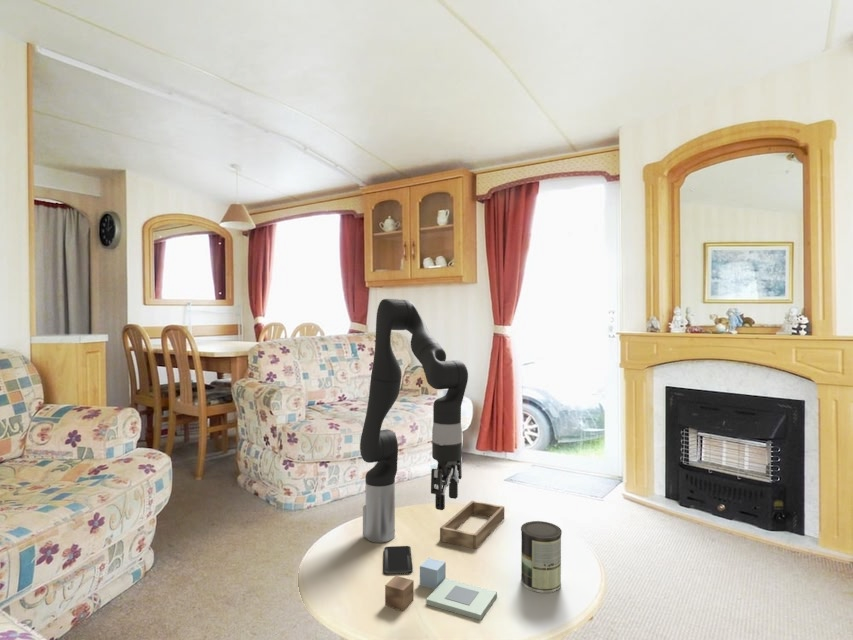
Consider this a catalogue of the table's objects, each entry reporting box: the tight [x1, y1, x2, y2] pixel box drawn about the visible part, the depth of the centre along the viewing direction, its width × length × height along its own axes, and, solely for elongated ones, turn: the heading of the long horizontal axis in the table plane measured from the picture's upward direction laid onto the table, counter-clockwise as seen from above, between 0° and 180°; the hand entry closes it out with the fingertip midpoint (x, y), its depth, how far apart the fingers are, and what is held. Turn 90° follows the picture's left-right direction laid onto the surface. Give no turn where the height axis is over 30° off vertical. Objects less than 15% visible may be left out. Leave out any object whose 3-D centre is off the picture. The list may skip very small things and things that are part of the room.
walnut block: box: [384, 575, 415, 612], centre depth 122 cm, size 5×5×5 cm
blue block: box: [419, 557, 447, 590], centre depth 131 cm, size 5×5×5 cm
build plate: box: [425, 577, 498, 621], centre depth 123 cm, size 14×11×1 cm
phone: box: [383, 545, 414, 576], centre depth 143 cm, size 8×1×15 cm
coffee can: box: [520, 520, 563, 594], centre depth 132 cm, size 10×10×14 cm
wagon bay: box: [439, 500, 505, 550], centre depth 165 cm, size 12×26×4 cm, turn 153°
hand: (446, 503), depth 128 cm, fingers open, 8 cm apart
